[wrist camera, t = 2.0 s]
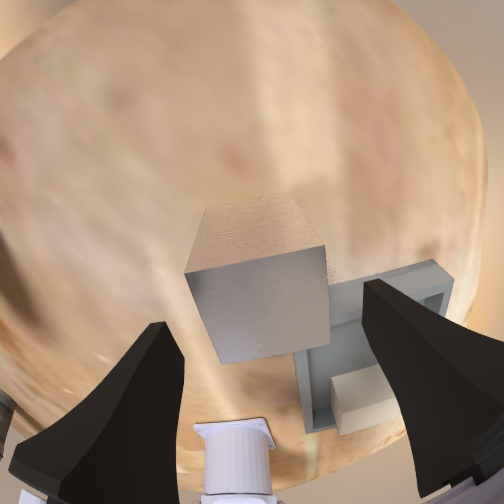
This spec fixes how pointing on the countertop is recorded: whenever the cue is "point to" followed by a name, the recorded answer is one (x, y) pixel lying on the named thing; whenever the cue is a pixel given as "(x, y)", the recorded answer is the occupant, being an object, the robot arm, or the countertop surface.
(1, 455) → the beverage cup
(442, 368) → the robot arm
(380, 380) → the cream bevelled block
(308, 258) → the tin
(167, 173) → the countertop surface
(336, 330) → the tote
